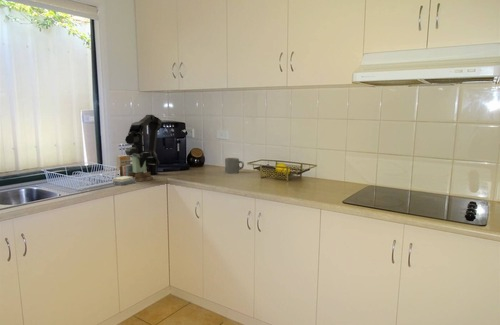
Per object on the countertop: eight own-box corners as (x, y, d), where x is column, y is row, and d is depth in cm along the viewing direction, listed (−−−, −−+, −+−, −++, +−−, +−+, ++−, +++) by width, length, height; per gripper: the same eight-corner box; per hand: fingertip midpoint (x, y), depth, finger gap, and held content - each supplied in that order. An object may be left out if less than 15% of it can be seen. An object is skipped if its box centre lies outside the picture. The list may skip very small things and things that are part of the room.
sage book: (142, 170, 223) (141, 155, 222) (145, 171, 221) (145, 156, 220) (132, 172, 218) (132, 156, 217) (136, 173, 216) (135, 157, 214)
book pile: (127, 180, 215) (127, 175, 214) (135, 182, 209) (135, 177, 209) (111, 183, 206) (111, 178, 206) (119, 185, 201) (119, 179, 200)
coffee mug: (223, 173, 243) (223, 159, 241) (227, 170, 253) (226, 157, 251) (242, 173, 241) (242, 159, 239) (244, 171, 250) (244, 158, 249)
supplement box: (120, 175, 234) (119, 156, 232) (116, 174, 237) (115, 155, 235) (131, 173, 240) (130, 155, 238) (127, 172, 243) (126, 154, 241)
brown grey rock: (134, 175, 233) (134, 163, 232) (152, 179, 220) (152, 166, 219) (120, 177, 224) (119, 165, 223) (138, 181, 212) (137, 168, 211)
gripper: (118, 142, 216) (119, 167, 219) (135, 144, 205) (136, 170, 207) (133, 141, 225) (135, 165, 227) (151, 143, 213) (152, 168, 216)
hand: (139, 167), depth 219 cm, fingers closed on sage book, 4 cm apart
